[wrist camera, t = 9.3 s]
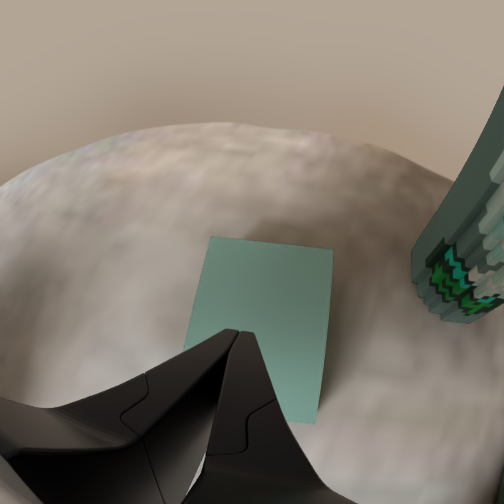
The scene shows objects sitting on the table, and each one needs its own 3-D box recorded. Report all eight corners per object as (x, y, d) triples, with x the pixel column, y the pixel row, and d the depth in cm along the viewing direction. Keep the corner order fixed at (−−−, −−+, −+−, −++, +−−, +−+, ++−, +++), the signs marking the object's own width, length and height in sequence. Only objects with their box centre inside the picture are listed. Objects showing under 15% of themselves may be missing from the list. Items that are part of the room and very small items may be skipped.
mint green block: (315, 424, 11) (333, 249, 15) (172, 399, 12) (210, 236, 15) (308, 420, 13) (326, 272, 17) (189, 401, 14) (220, 260, 18)
